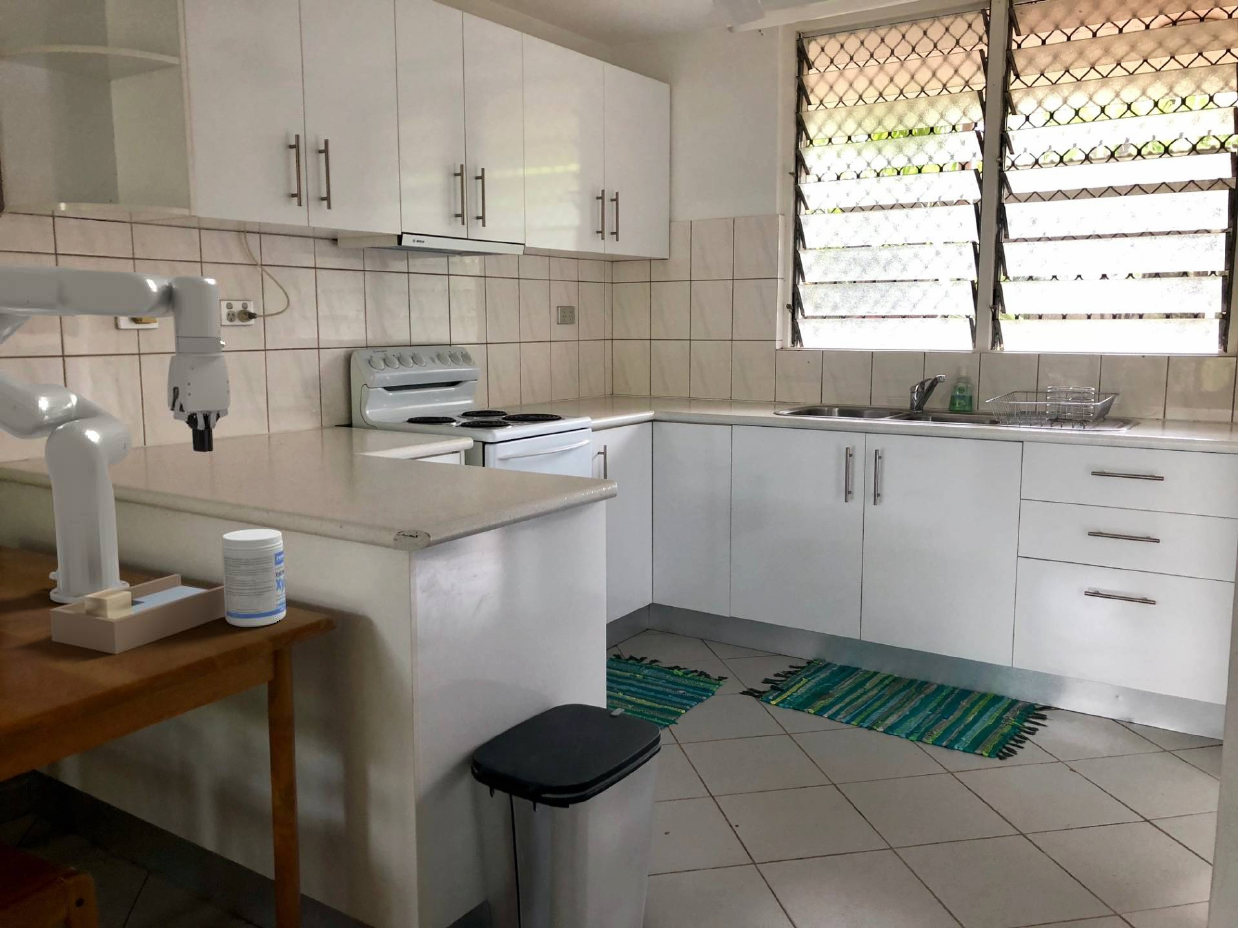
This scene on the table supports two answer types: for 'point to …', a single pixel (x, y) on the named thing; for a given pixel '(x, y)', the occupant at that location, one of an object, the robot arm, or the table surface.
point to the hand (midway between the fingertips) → (203, 450)
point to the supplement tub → (253, 577)
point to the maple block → (109, 603)
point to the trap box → (139, 616)
